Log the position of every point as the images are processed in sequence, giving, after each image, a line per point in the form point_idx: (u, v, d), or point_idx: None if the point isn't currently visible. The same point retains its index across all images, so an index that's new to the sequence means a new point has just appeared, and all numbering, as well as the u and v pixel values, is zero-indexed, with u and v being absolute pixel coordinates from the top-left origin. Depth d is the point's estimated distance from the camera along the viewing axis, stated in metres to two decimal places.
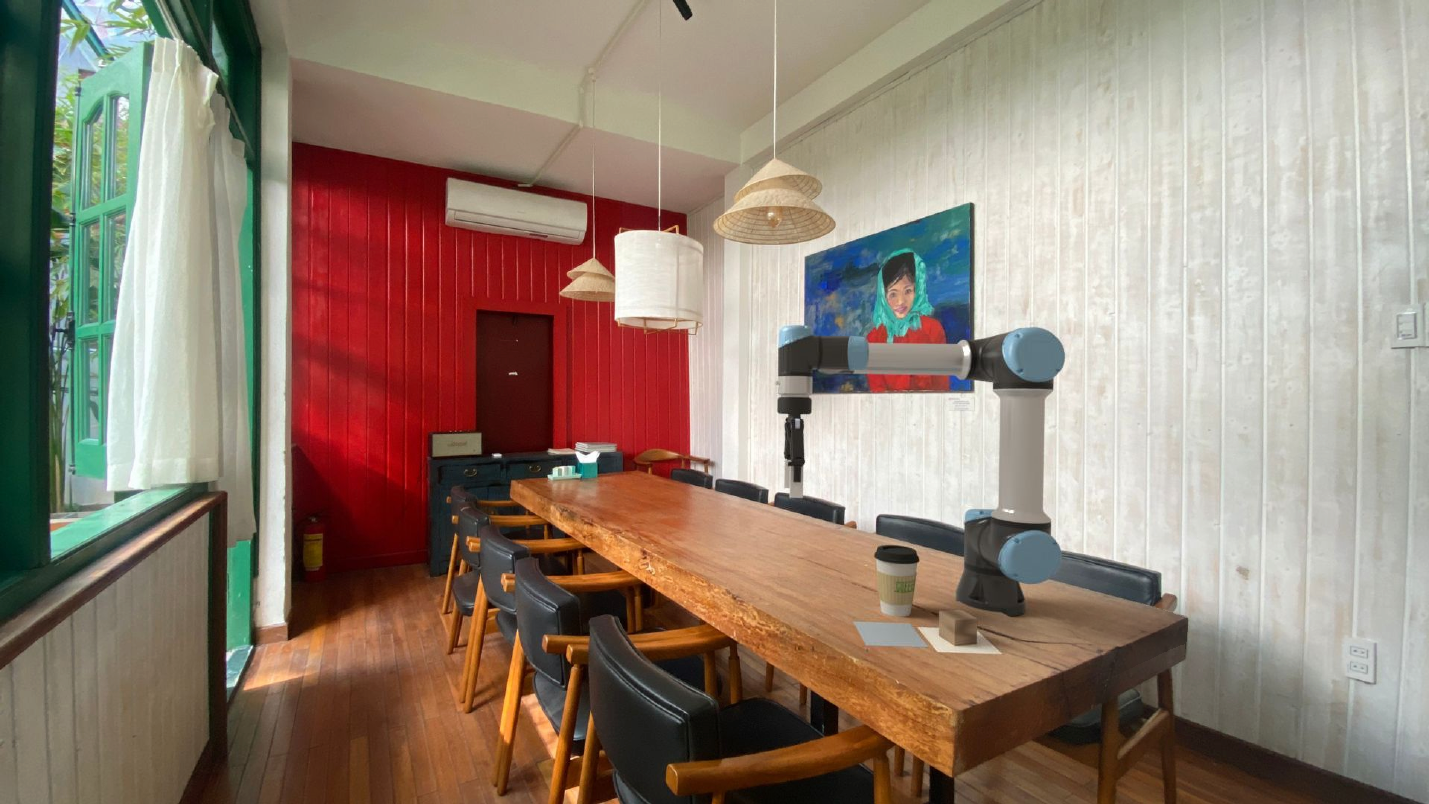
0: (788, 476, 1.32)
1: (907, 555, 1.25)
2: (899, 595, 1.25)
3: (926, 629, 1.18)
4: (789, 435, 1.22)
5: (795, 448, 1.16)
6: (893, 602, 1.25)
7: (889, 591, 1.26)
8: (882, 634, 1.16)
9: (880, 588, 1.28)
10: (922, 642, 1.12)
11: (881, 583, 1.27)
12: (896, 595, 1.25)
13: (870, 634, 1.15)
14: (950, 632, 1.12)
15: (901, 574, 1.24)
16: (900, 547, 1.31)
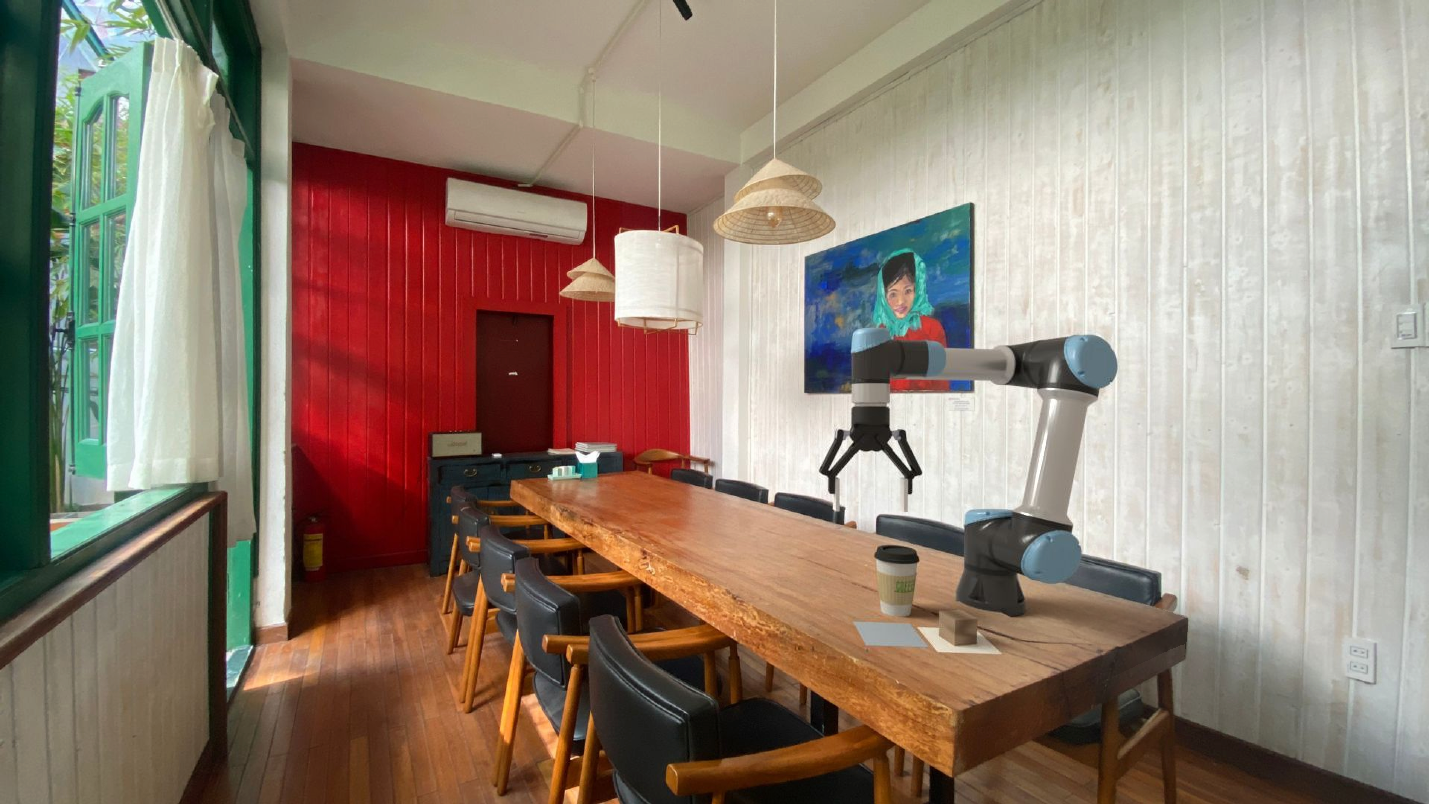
0: (901, 497, 1.15)
1: (907, 555, 1.25)
2: (899, 595, 1.25)
3: (926, 629, 1.18)
4: (849, 446, 1.16)
5: (825, 458, 1.15)
6: (893, 602, 1.25)
7: (889, 591, 1.26)
8: (882, 634, 1.16)
9: (880, 588, 1.28)
10: (922, 642, 1.12)
11: (881, 583, 1.27)
12: (896, 595, 1.25)
13: (870, 634, 1.15)
14: (950, 632, 1.12)
15: (901, 574, 1.24)
16: (900, 547, 1.31)
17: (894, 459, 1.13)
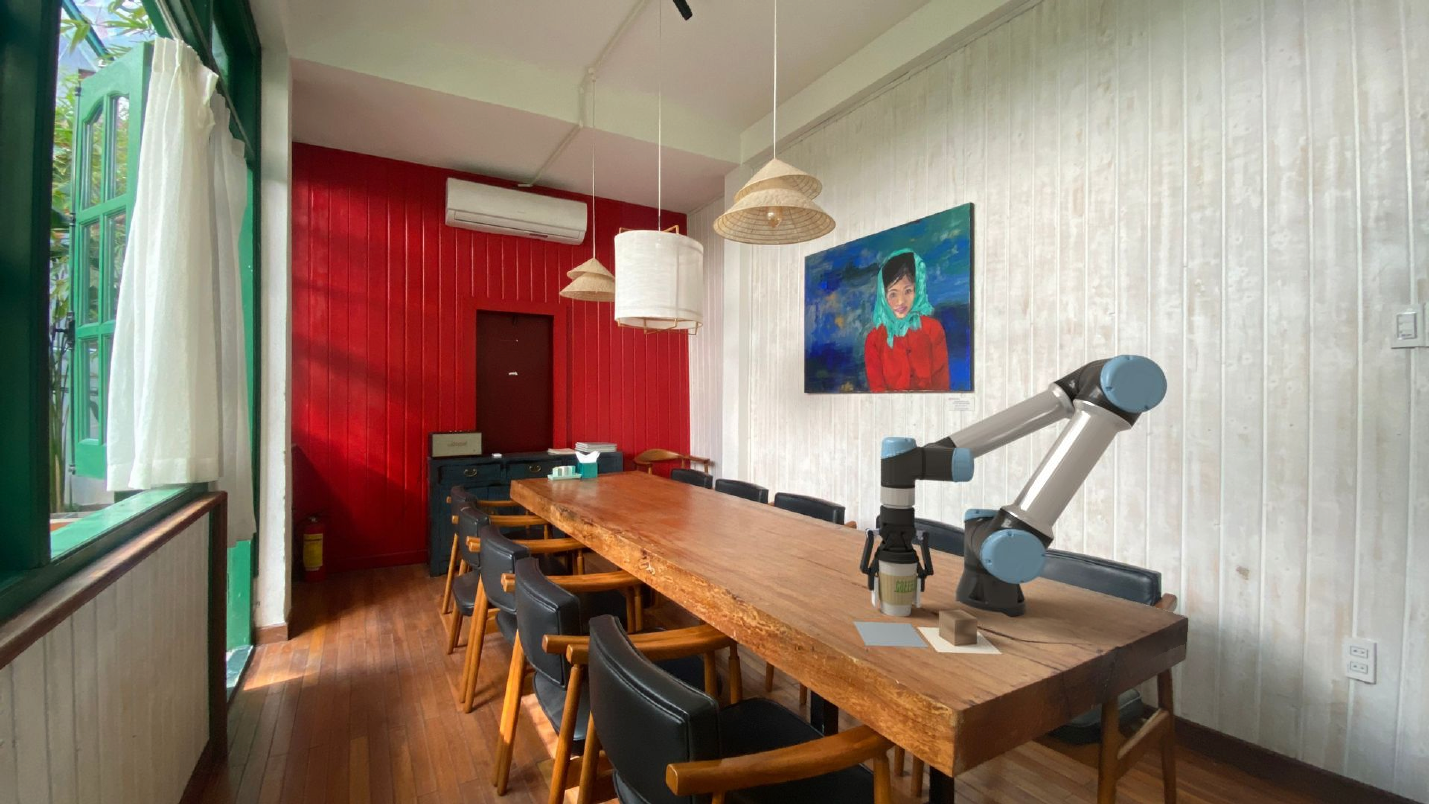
0: (914, 593, 1.29)
1: (907, 555, 1.25)
2: (899, 595, 1.25)
3: (926, 629, 1.18)
4: (880, 543, 1.30)
5: (862, 557, 1.29)
6: (893, 602, 1.25)
7: (889, 591, 1.26)
8: (882, 634, 1.16)
9: (880, 588, 1.28)
10: (922, 642, 1.12)
11: (881, 583, 1.27)
12: (896, 595, 1.25)
13: (870, 634, 1.15)
14: (950, 632, 1.12)
15: (901, 574, 1.24)
16: (900, 547, 1.31)
17: None
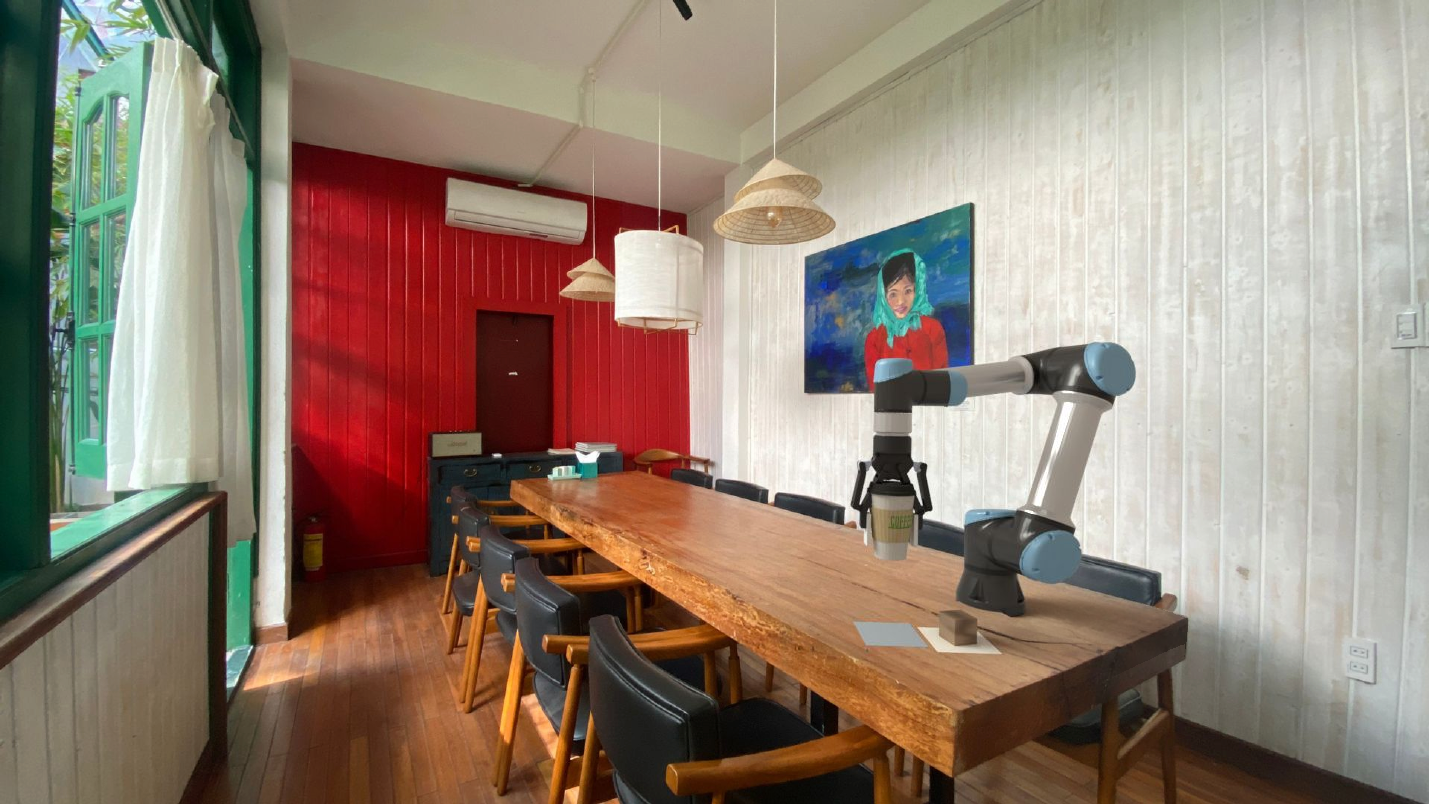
0: (911, 532, 1.16)
1: (903, 487, 1.12)
2: (894, 531, 1.12)
3: (926, 629, 1.18)
4: (874, 477, 1.17)
5: (853, 492, 1.17)
6: (888, 540, 1.13)
7: (883, 527, 1.13)
8: (882, 634, 1.16)
9: (873, 525, 1.15)
10: (922, 642, 1.12)
11: (874, 519, 1.15)
12: (890, 531, 1.12)
13: (870, 634, 1.15)
14: (950, 632, 1.12)
15: (896, 507, 1.12)
16: (895, 482, 1.19)
17: None
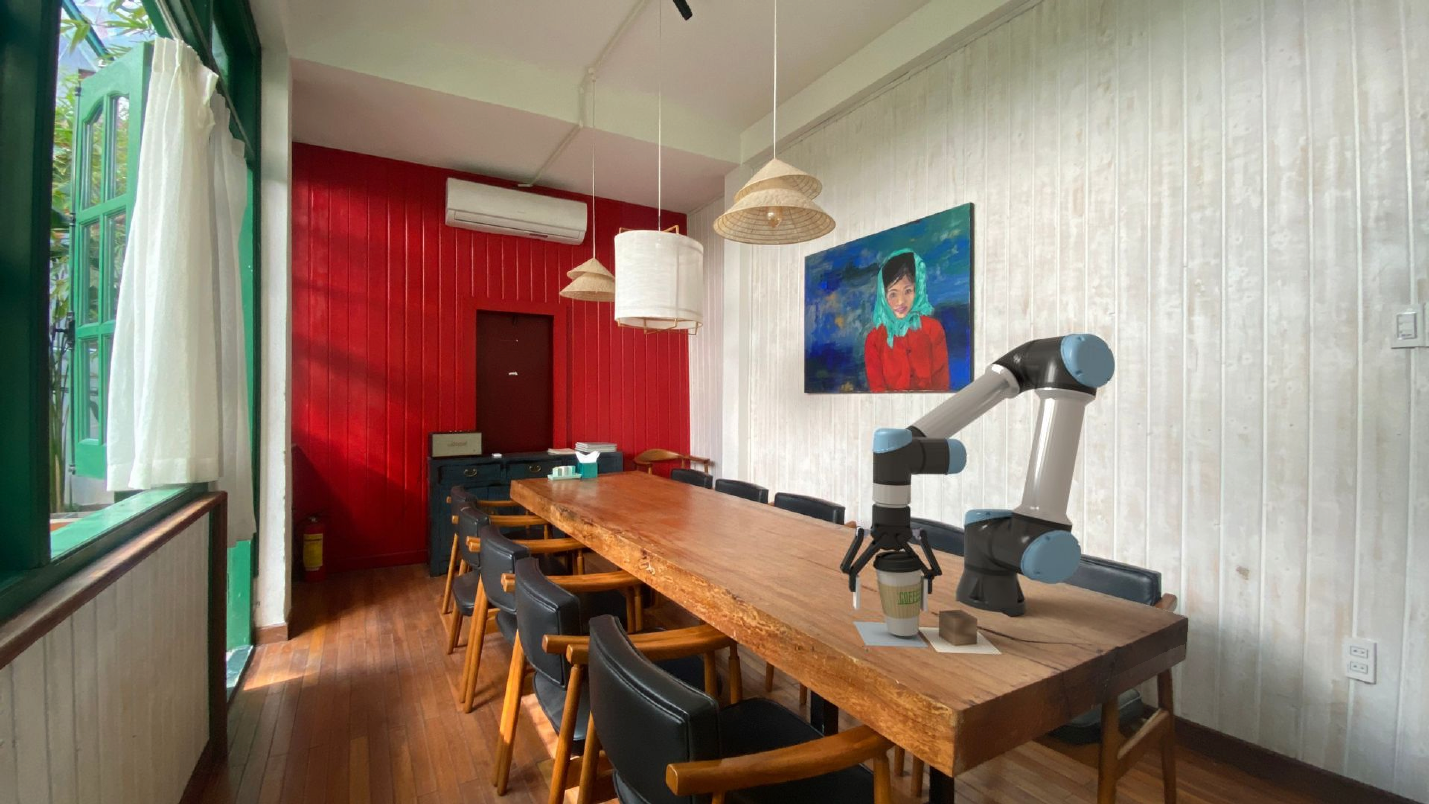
0: None
1: (908, 562, 1.12)
2: (904, 607, 1.12)
3: (926, 629, 1.18)
4: (870, 543, 1.17)
5: (846, 555, 1.17)
6: (898, 616, 1.13)
7: (892, 603, 1.13)
8: (882, 634, 1.16)
9: (882, 601, 1.15)
10: (922, 642, 1.12)
11: (883, 595, 1.14)
12: (900, 607, 1.12)
13: (870, 634, 1.15)
14: (950, 632, 1.12)
15: (903, 583, 1.12)
16: (901, 553, 1.19)
17: None
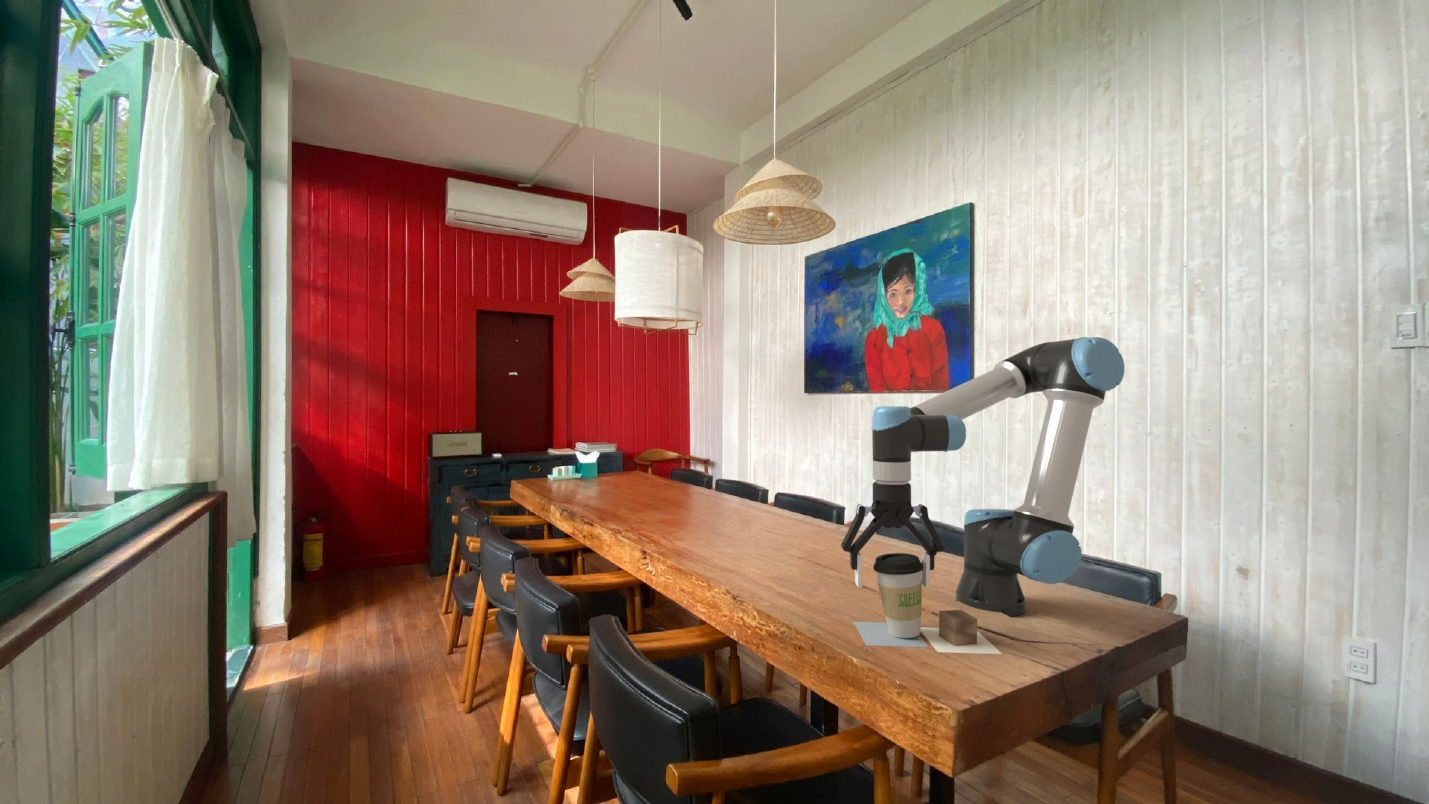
0: (923, 572, 1.16)
1: (907, 564, 1.12)
2: (904, 609, 1.12)
3: (926, 629, 1.18)
4: (871, 521, 1.17)
5: (847, 533, 1.17)
6: (899, 618, 1.13)
7: (893, 605, 1.13)
8: (882, 634, 1.16)
9: (883, 603, 1.15)
10: (922, 642, 1.12)
11: (883, 597, 1.15)
12: (900, 609, 1.12)
13: (870, 634, 1.15)
14: (950, 632, 1.12)
15: (903, 585, 1.12)
16: (902, 555, 1.19)
17: (916, 535, 1.15)
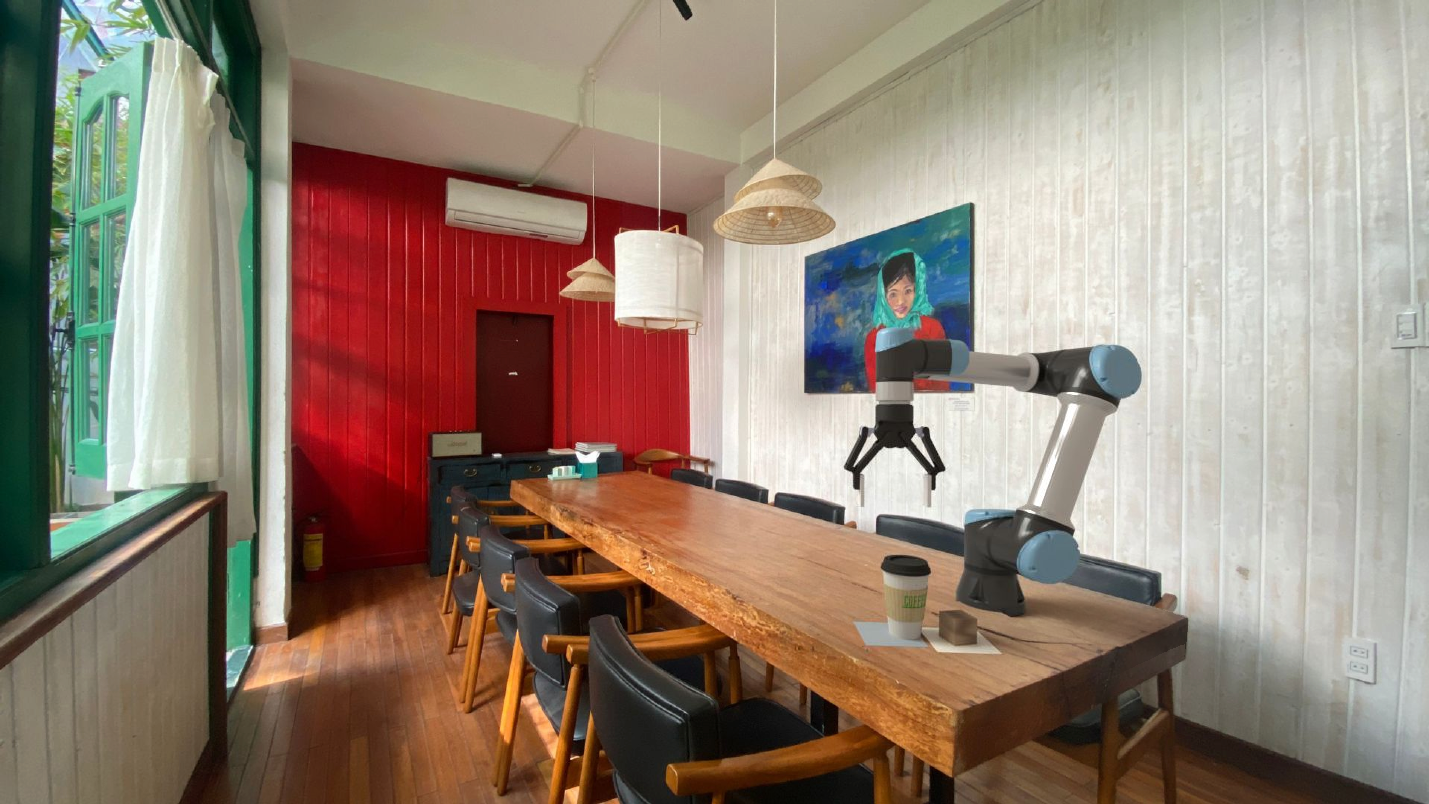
0: (924, 492, 1.17)
1: (916, 567, 1.12)
2: (908, 611, 1.12)
3: (926, 629, 1.18)
4: (874, 443, 1.19)
5: (850, 455, 1.18)
6: (901, 619, 1.13)
7: (896, 606, 1.13)
8: (882, 634, 1.16)
9: (887, 603, 1.15)
10: (922, 642, 1.12)
11: (888, 597, 1.15)
12: (904, 611, 1.12)
13: (870, 634, 1.15)
14: (950, 632, 1.12)
15: (909, 587, 1.12)
16: (910, 557, 1.19)
17: (918, 456, 1.16)
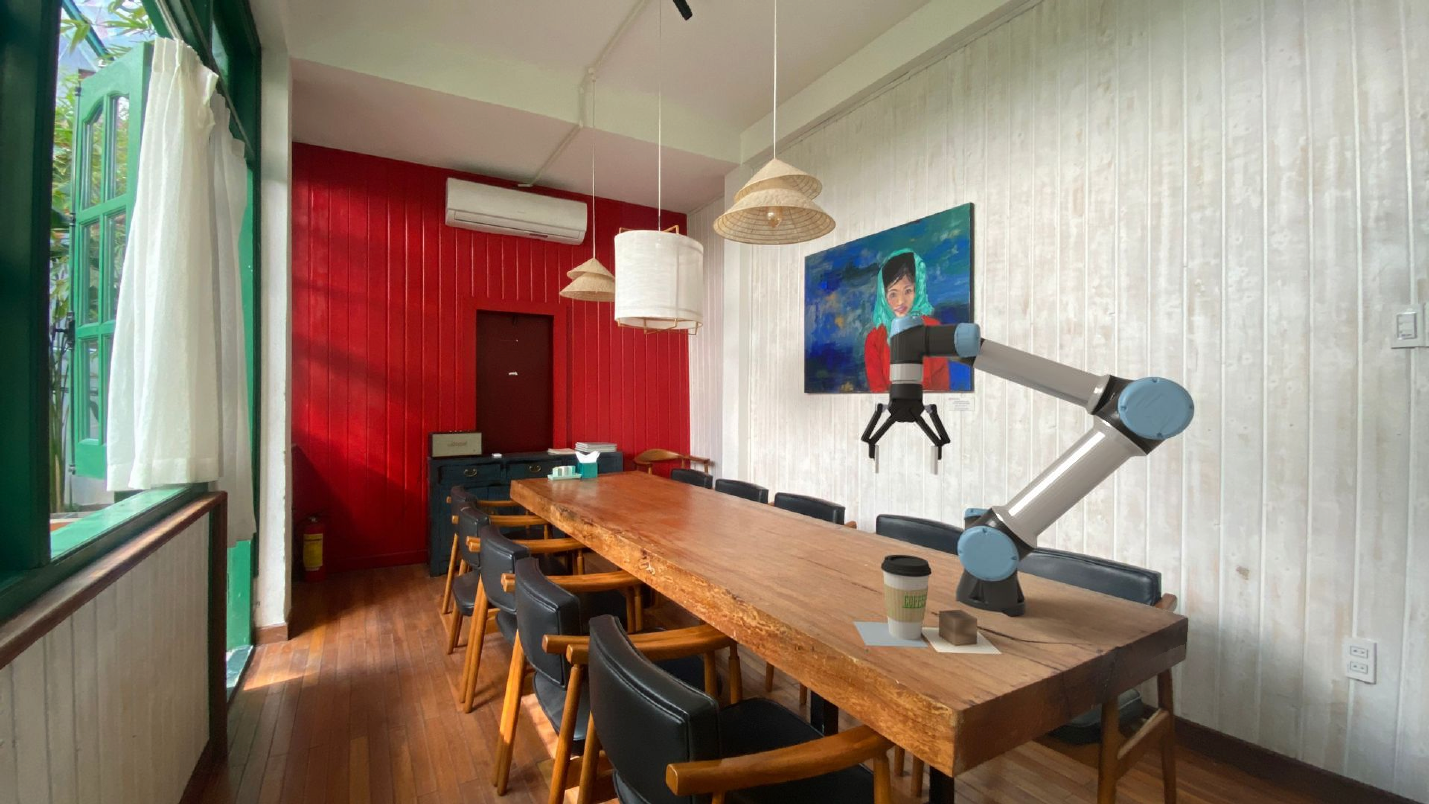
0: (931, 462, 1.34)
1: (917, 567, 1.12)
2: (908, 611, 1.12)
3: (926, 629, 1.18)
4: (887, 418, 1.35)
5: (866, 428, 1.35)
6: (901, 619, 1.13)
7: (897, 606, 1.13)
8: (882, 634, 1.16)
9: (887, 603, 1.15)
10: (922, 642, 1.12)
11: (888, 597, 1.15)
12: (904, 611, 1.12)
13: (870, 634, 1.15)
14: (950, 632, 1.12)
15: (910, 587, 1.12)
16: (911, 557, 1.19)
17: (926, 429, 1.32)
